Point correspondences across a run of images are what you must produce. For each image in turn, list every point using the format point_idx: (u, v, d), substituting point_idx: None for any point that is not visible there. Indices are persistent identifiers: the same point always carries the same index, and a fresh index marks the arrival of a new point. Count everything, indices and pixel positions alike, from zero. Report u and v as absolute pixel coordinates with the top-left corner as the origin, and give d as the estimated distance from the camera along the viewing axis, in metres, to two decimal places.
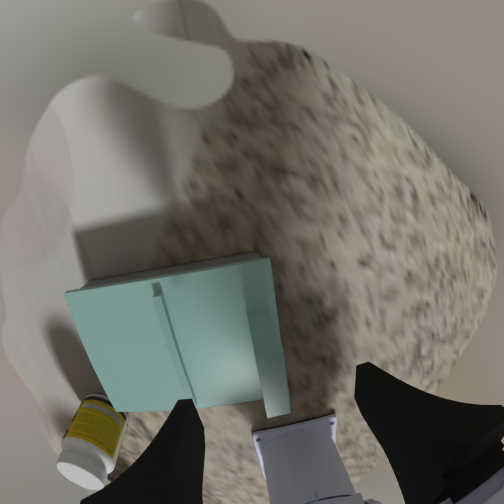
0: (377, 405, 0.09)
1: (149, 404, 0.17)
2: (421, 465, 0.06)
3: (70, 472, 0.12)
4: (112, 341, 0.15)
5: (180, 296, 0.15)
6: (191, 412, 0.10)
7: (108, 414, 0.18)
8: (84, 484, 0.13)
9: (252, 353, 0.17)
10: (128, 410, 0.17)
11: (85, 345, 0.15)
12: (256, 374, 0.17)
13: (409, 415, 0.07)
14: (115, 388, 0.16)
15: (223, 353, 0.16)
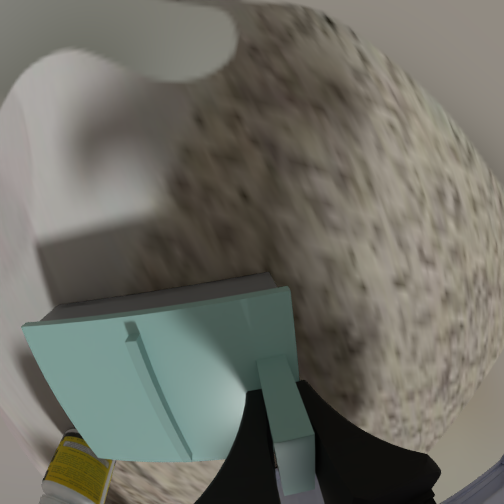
0: None
1: (135, 455, 0.12)
2: (334, 500, 0.05)
3: None
4: (83, 388, 0.11)
5: (164, 340, 0.11)
6: None
7: (91, 454, 0.14)
8: None
9: None
10: (112, 458, 0.12)
11: (53, 389, 0.11)
12: None
13: (322, 446, 0.07)
14: (94, 436, 0.12)
15: (225, 407, 0.12)
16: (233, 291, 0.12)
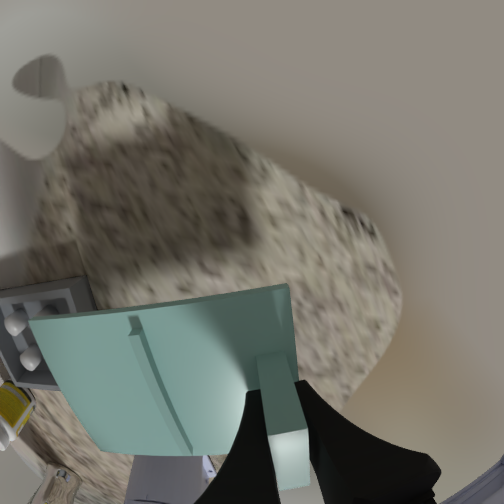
0: None
1: (137, 448, 0.13)
2: (334, 500, 0.05)
3: None
4: (87, 381, 0.11)
5: (166, 334, 0.11)
6: None
7: (15, 394, 0.19)
8: None
9: None
10: (114, 451, 0.13)
11: (58, 382, 0.11)
12: None
13: (323, 446, 0.07)
14: (97, 429, 0.12)
15: (225, 402, 0.12)
16: (58, 285, 0.17)
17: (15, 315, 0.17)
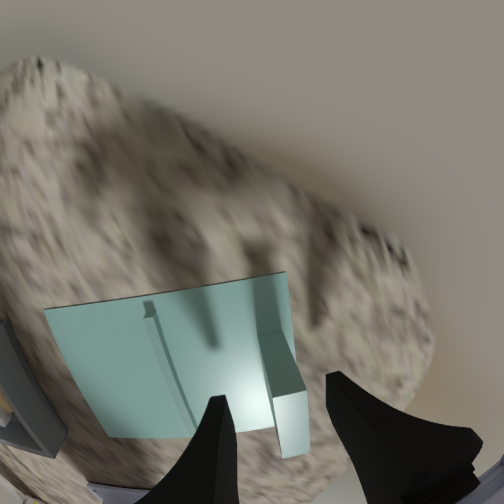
0: (344, 416, 0.09)
1: (145, 431, 0.14)
2: (382, 483, 0.06)
3: None
4: (100, 365, 0.13)
5: (177, 316, 0.12)
6: (226, 408, 0.10)
7: None
8: None
9: (262, 379, 0.14)
10: (122, 436, 0.14)
11: (71, 368, 0.13)
12: (266, 401, 0.14)
13: (370, 431, 0.07)
14: (106, 414, 0.14)
15: (229, 380, 0.14)
16: None
17: None
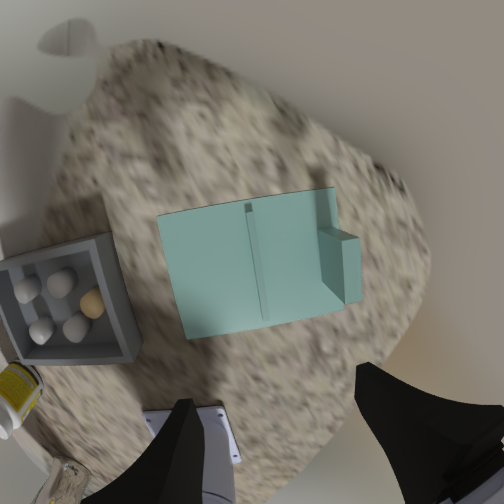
0: (377, 405, 0.09)
1: (223, 326, 0.21)
2: (421, 465, 0.06)
3: None
4: (199, 259, 0.20)
5: (266, 214, 0.20)
6: (191, 412, 0.10)
7: (21, 376, 0.18)
8: None
9: (319, 266, 0.21)
10: (200, 336, 0.21)
11: (170, 267, 0.20)
12: (321, 287, 0.21)
13: (409, 415, 0.07)
14: (192, 311, 0.21)
15: (296, 266, 0.21)
16: (80, 240, 0.17)
17: (27, 280, 0.17)
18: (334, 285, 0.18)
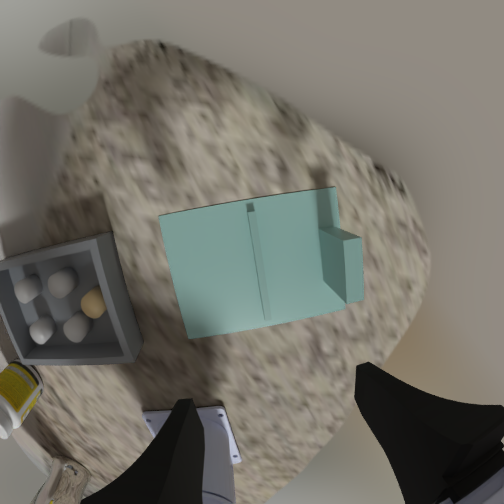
0: (377, 405, 0.09)
1: (225, 325, 0.21)
2: (421, 465, 0.06)
3: None
4: (201, 259, 0.20)
5: (268, 214, 0.20)
6: (191, 412, 0.10)
7: (21, 375, 0.18)
8: None
9: (320, 266, 0.21)
10: (202, 335, 0.21)
11: (172, 267, 0.20)
12: (322, 287, 0.21)
13: (409, 415, 0.07)
14: (193, 311, 0.21)
15: (298, 265, 0.21)
16: (81, 240, 0.17)
17: (27, 280, 0.17)
18: (336, 284, 0.18)
